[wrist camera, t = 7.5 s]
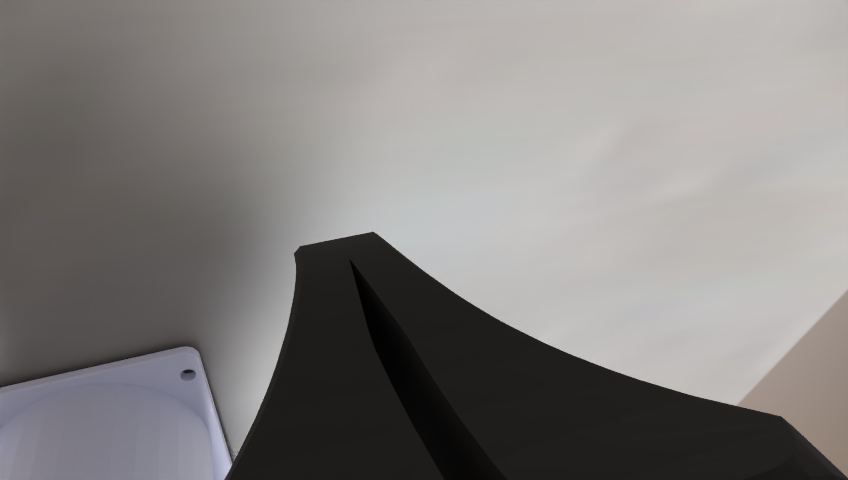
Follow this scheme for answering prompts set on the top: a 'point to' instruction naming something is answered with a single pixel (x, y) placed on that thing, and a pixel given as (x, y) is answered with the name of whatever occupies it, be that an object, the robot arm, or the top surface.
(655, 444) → the robot arm
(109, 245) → the top surface
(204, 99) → the top surface
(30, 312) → the top surface
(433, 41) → the top surface
